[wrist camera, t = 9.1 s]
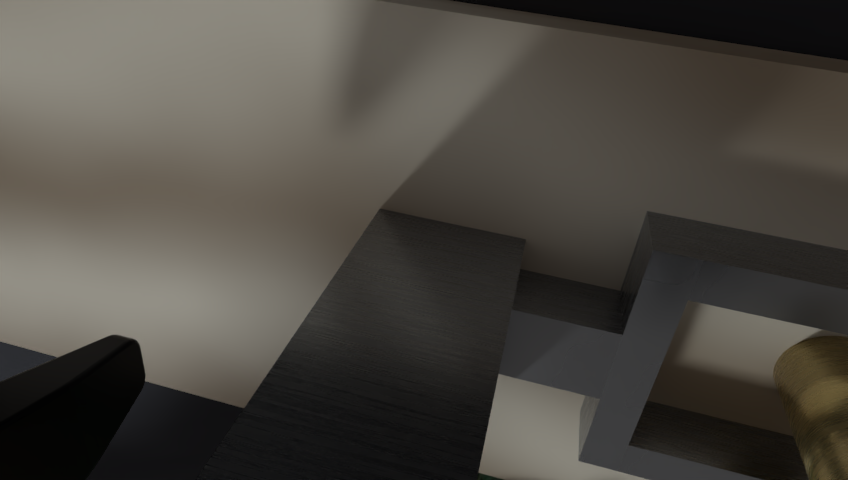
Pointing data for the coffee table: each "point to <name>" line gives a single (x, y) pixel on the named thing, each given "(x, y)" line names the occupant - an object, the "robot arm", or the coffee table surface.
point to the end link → (518, 354)
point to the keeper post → (817, 403)
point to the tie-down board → (390, 178)
